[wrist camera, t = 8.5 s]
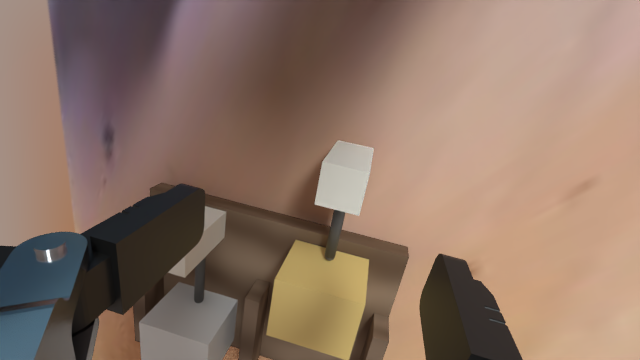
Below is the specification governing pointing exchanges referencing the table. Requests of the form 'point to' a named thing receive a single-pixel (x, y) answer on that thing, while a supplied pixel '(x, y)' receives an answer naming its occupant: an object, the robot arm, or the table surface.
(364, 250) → the lane rack
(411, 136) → the table surface
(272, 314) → the ochre block
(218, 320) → the white block with handle
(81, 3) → the table surface
